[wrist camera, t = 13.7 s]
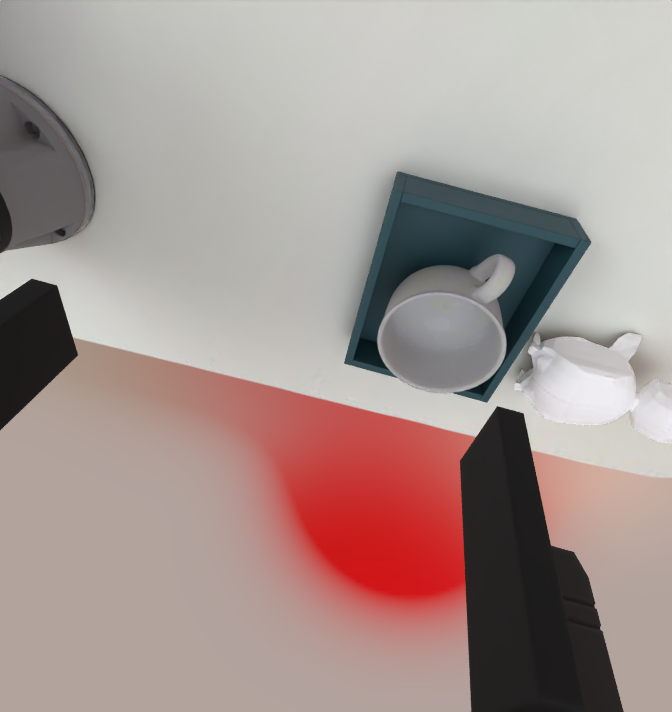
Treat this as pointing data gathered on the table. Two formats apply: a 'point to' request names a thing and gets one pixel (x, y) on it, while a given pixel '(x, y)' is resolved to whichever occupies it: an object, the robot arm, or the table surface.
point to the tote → (466, 260)
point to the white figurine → (594, 385)
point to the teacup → (447, 326)
